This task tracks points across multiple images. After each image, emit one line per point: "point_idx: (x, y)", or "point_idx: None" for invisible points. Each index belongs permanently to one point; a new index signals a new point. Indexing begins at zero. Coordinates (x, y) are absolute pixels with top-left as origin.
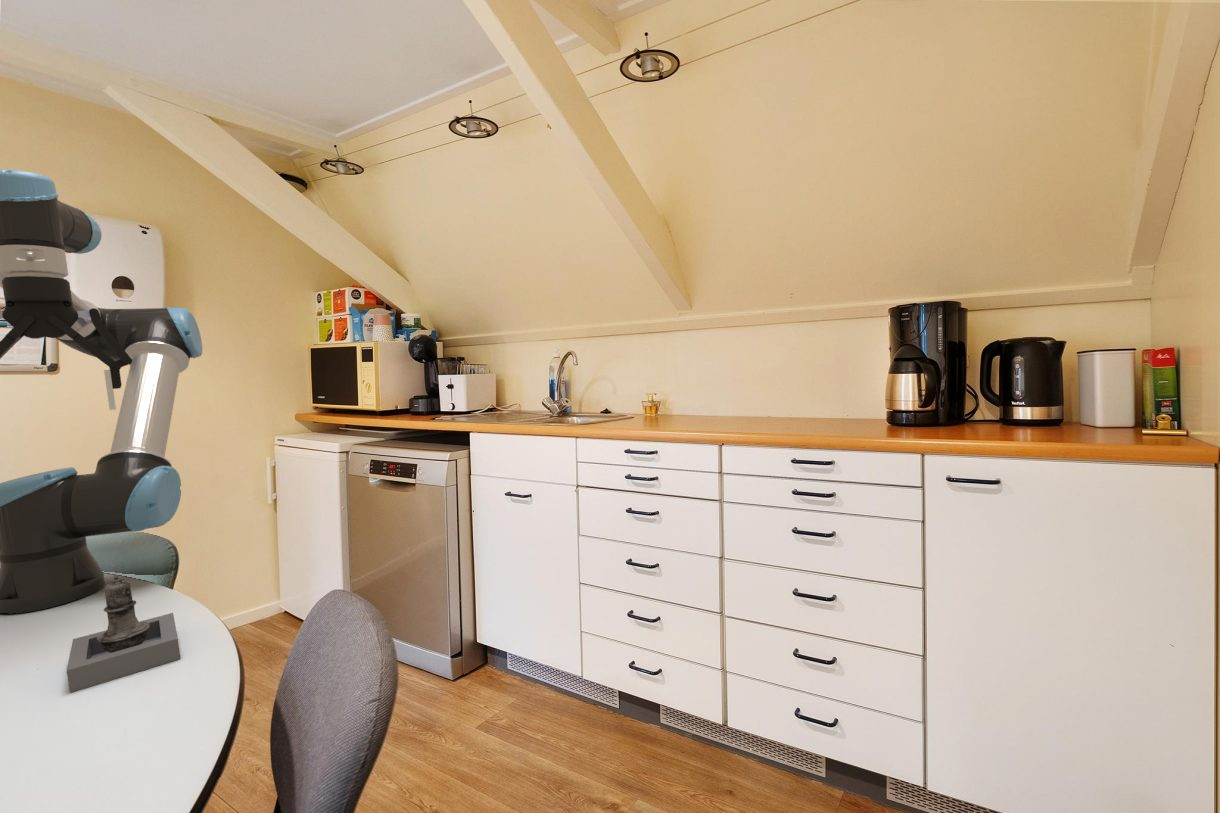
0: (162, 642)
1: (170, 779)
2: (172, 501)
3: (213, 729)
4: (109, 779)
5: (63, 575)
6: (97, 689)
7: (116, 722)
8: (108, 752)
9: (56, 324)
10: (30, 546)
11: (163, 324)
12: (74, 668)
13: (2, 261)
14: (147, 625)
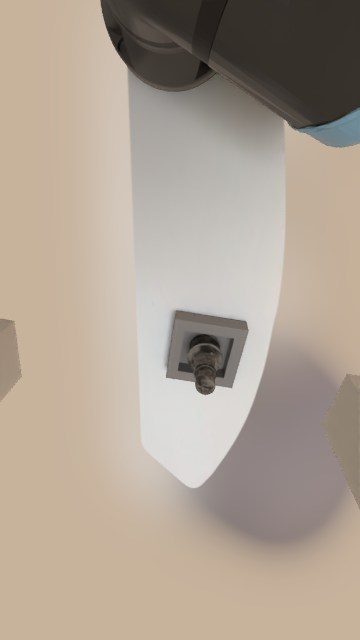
0: (222, 385)
1: (191, 476)
2: None
3: (215, 460)
4: (173, 460)
5: (186, 69)
6: None
7: (183, 421)
8: (175, 443)
9: None
10: (141, 33)
11: None
12: (170, 377)
13: None
14: (220, 363)
